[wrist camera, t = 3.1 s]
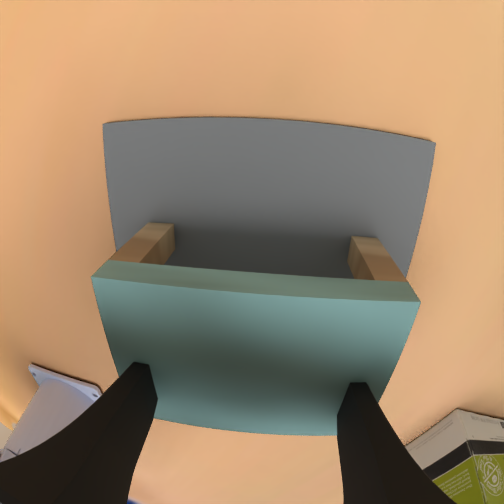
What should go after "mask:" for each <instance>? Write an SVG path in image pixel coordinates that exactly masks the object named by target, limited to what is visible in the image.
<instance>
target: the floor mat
mask: <svg viewBox="0 0 504 504" xmlns="http://www.w3.org/2000/svg"><path fill="white" fill-rule="evenodd" d="M103 141H104V156H105V168H106V178H107V188H108V197H109V205H110V212H111V220H112V226H113V233H114V239H115V245H116V251H118V250H119V249H120V248H121V247H122V246H123V245H124V244H125V243H127V242H128V241H129V240H130V239H131V238H132V237H133V236H134V235H135V234H136V233H137V232H139V231H140V230H141V229H142V228H143V227H144V226H145V225H146V224H147V223H149V222H151V223H171V224H174V236H175V250H174V251H173V253H172V254H171V256H170V257H169V258H168V260H167V261H166V263H165V264H164V265H169V266H180V267H192V268H204V269H216V270H229V271H242V272H255V273H269V274H283V275H297V276H312V277H328V278H344V279H354V277H353V274H352V272H351V270H350V267H349V265H348V262H347V259H348V253H349V248H350V242H351V236H360V237H371V238H378V239H379V241H380V242H381V244H382V245H383V246H384V248H385V249H386V251H387V252H388V253H389V255H390V256H391V258H392V259H393V261H394V262H395V263H396V265H397V266H398V268H399V269H400V271H401V272H402V274H403V275H404V277H405V278H406V275H407V272H408V269H409V265H410V262H411V259H412V255H413V251H414V248H415V244H416V240H417V236H418V232H419V228H420V224H421V220H422V216H423V211H424V207H425V202H426V197H427V193H428V187H429V182H430V177H431V171H432V165H433V159H434V152H435V146H436V143H435V142H432V141H428V140H424V139H419V138H414V137H410V136H405V135H399V134H394V133H389V132H383V131H377V130H371V129H365V128H358V127H351V126H344V125H336V124H327V123H318V122H308V121H297V120H283V119H267V118H243V117H185V118H161V119H145V120H132V121H121V122H111V123H105V124H103Z"/></svg>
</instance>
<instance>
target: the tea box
mask: <svg viewBox="0 0 504 504" xmlns="http://www.w3.org/2000/svg"><path fill="white" fill-rule="evenodd" d="M405 448H406V449H407V451H408V452H409V453H410V455H411V456H412V458H413V459H414V460H415V461H416V463H417V464H418V465H419V466H420V468H421V469H422V470H423V471H424V472H425V473H426V474H427V476H428V477H429V478H430V479H431V480H432V481H433V482H434V483H435V484H436V485H437V486H438V487H439V488H440V489H441V490H442V491H443V492H444V493H445V494H446V495H447V496H448V497H450V498H451V499H452V500H453V501H454V502H456V503H457V504H504V420H501V419H498V418H491V417H489V416H484V415H478V414H475V413H472V412H466V411H463V410H460V409H455V410H454V411H453V412H451V413H450V414H449V415H448V416H446V417H445V418H444V419H442V420H441V421H440V422H438V423H437V424H436V425H434V426H433V427H432V428H430V429H429V430H428V431H426V432H425V433H424V434H422V435H421V436H419V437H418V438H416V439H415V440H414V441H412V442H411V443H409V444H408V445H406V446H405Z"/></svg>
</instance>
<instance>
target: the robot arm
mask: <svg viewBox="0 0 504 504" xmlns="http://www.w3.org/2000/svg"><path fill="white" fill-rule="evenodd" d="M28 368H29V370H30V372H31V374H32V375H33V377H34V379H35V380H36V382H37V384H38V385H39V388H38V390H37V391H36V393H35V395H34V396H33V398H32V399H31V401H30V403H29V404H28V406H27V408H26V409H25V411H24V413H23V414H22V416H21V418H20V419H19V421H18V423H17V425H16V427H15V428H14V430H13V432H12V434H11V435H10V437H9V439H8V441H7V443H6V444H5V446H4V449H0V504H127V499H128V494H129V489H130V485H131V481H132V476H133V472H134V469H135V466H136V463H137V461H138V458H139V455H140V453H141V450H142V448H143V445H144V442H145V440H146V437H147V434H148V432H149V429H150V427H151V424H152V421H153V418H154V414H155V410H156V406H157V401H158V397H157V393H156V389H155V386H154V382H153V378H152V374H151V370H150V366H149V364H144V363H139V362H133V363H132V364H131V365H130V366H129V367H128V368H127V369H126V370H125V371H124V372H123V373H122V375H121V376H120V377H119V378H118V379H117V380H116V381H115V382H114V383H113V384H112V385H111V386H110V387H109V388H108V389H107V390H106V391H105V392H104V393H103V394H102V393H101V391H100V389H99V388H98V387H97V386H95V385H92V384H89V383H85V382H82V381H79V380H76V379H73V378H69V377H66V376H63V375H60V374H57V373H55V372H52V371H49V370H46V369H43V368H41V367H38V366H35V365H33V364H30V365H29V366H28ZM337 441H338V449H339V456H340V464H341V472H342V481H343V493H344V504H457V503H456V502H454V501H453V500H452V499H451V498H450V497H448V496H447V495H446V494H445V493H444V492H443V491H442V490H441V489H440V488H439V487H438V486H437V485H436V484H435V483H434V482H433V481H432V480H431V479H430V478H429V477H428V476H427V474H426V473H425V472H424V471H423V470H422V469H421V468H420V466H419V465H418V464H417V463H416V461H415V460H414V459H413V458H412V456H411V455H410V453H409V452H408V451H407V449H406V448H405V446H404V445H403V444H402V442H401V441H400V439H399V438H398V436H397V435H396V433H395V431H394V430H393V428H392V426H391V425H390V423H389V422H388V420H387V418H386V417H385V415H384V413H383V411H382V410H381V408H380V406H379V404H378V402H377V401H376V399H375V397H374V395H373V393H372V391H371V389H370V387H369V386H368V384H367V383H366V382H350V384H349V386H348V389H347V391H346V394H345V396H344V399H343V401H342V404H341V406H340V409H339V411H338V414H337Z"/></svg>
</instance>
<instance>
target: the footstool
mask: <svg viewBox="0 0 504 504" xmlns="http://www.w3.org/2000/svg"><path fill="white" fill-rule="evenodd" d="M174 250H175V236H174V224H171V223H151V222H149V223H147V224H146V225H145V226H144V227H143V228H142V229H141V230H140V231H139V232H137V233H136V234H135V235H134V236H133V237H132V238H131V239H130V240H129V241H128V242H127V243H125V244H124V245H123V246H122V247H121V248H120V249H119V250H118V251H117V252H116V253H115V254H114V255H113V256H112V257H111V258H110V259H109V260H108V261H107V262H105V263H104V264H103V265H102V266H101V267H100V268H99V269H98V270H97V271H96V272H95V273H94V274H93V275H92V276H91V279H92V283H93V288H94V292H95V296H96V300H97V304H98V308H99V312H100V316H101V320H102V323H103V327H104V331H105V334H106V337H107V341H108V344H109V347H110V351H111V354H112V357H113V360H114V363H115V366H116V369H117V372H118V375H119V377H120V376H121V375H122V373H123V372H124V371H125V370H126V369H127V368H128V367H129V366H130V365H131V364H132V363H133V362H139V363H144V364H149V366H150V370H151V374H152V378H153V382H154V386H155V389H156V393H157V397H158V401H157V406H156V410H155V414H154V418H156V419H161V420H166V421H171V422H176V423H181V424H187V425H193V426H199V427H206V428H213V429H221V430H229V431H238V432H249V433H261V434H277V435H309V436H323V435H337V414H338V411H339V409H340V406H341V404H342V401H343V399H344V396H345V394H346V391H347V389H348V386H349V384H350V382H366V383H367V384H368V386H369V387H370V389H371V391H372V393H373V395H374V397H375V399H376V401H377V402H379V400H380V398H381V396H382V394H383V392H384V390H385V388H386V386H387V384H388V382H389V380H390V378H391V376H392V373H393V371H394V369H395V367H396V364H397V362H398V360H399V358H400V355H401V353H402V350H403V348H404V346H405V343H406V341H407V338H408V336H409V333H410V331H411V328H412V325H413V323H414V320H415V317H416V315H417V312H418V309H419V306H420V303H421V301H420V300H419V298H418V297H417V295H416V294H415V292H414V290H413V289H412V287H411V286H410V284H409V283H408V281H407V280H406V278H405V277H404V275H403V274H402V272H401V271H400V269H399V268H398V266H397V265H396V263H395V262H394V261H393V259H392V258H391V256H390V255H389V253H388V252H387V251H386V249H385V248H384V246H383V245H382V244H381V242H380V241H379V239H378V238H371V237H360V236H351V242H350V248H349V253H348V259H347V262H348V265H349V267H350V270H351V272H352V274H353V277H354V279H344V278H328V277H312V276H297V275H283V274H269V273H255V272H242V271H229V270H216V269H204V268H192V267H180V266H169V265H164V264H165V263H166V261H167V260H168V258H169V257H170V256H171V254H172V253H173V251H174Z"/></svg>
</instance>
